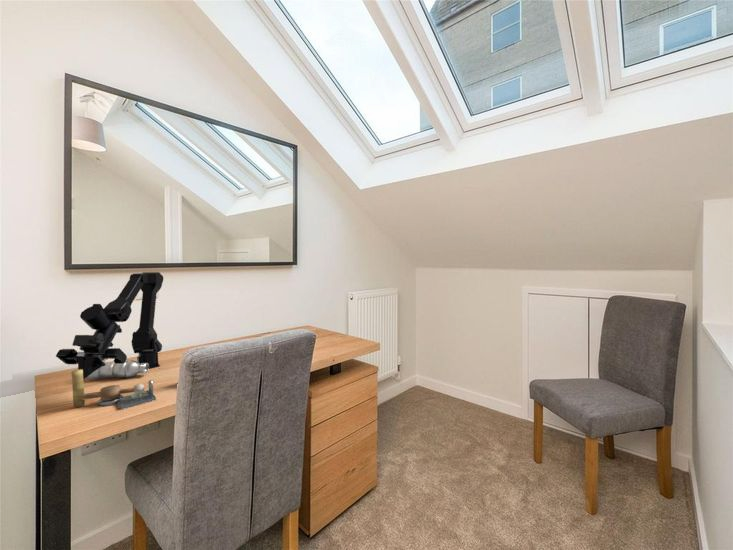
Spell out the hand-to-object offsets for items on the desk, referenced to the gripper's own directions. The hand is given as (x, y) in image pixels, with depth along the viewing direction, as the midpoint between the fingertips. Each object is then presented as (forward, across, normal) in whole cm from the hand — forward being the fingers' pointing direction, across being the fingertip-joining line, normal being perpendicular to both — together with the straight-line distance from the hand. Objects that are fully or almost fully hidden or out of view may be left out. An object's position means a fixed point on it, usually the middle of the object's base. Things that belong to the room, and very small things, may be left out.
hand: (78, 381), depth 104 cm
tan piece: (+4, +8, +6) cm, 11 cm away
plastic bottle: (-13, -14, +19) cm, 27 cm away
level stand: (+4, +13, +6) cm, 15 cm away
